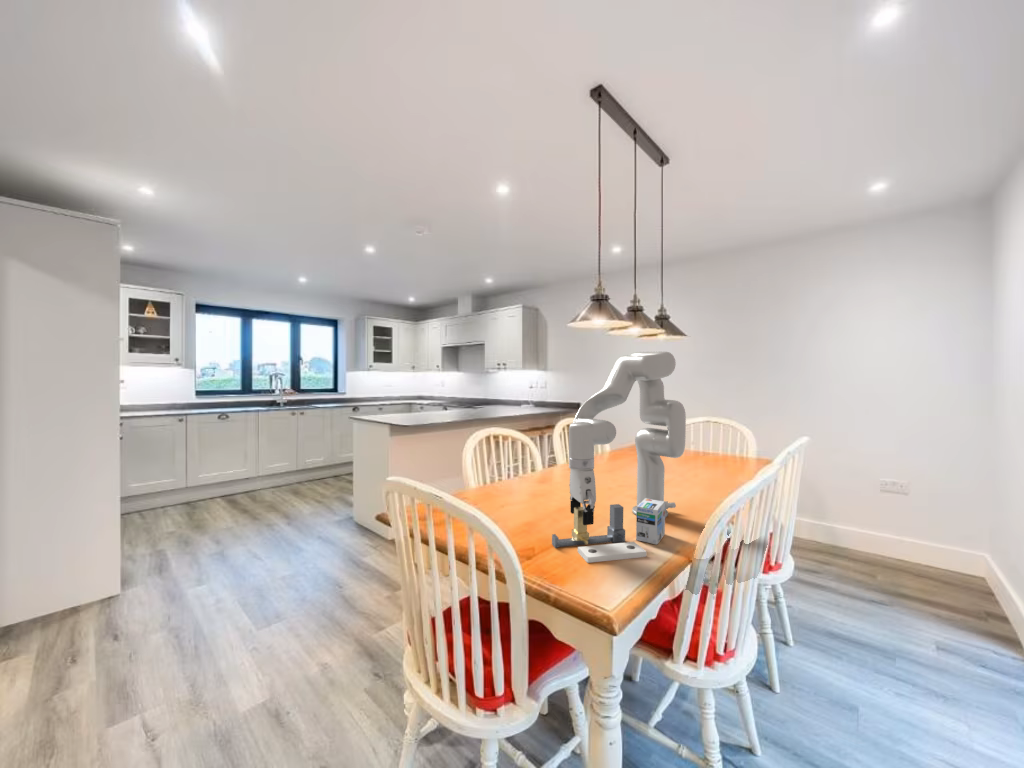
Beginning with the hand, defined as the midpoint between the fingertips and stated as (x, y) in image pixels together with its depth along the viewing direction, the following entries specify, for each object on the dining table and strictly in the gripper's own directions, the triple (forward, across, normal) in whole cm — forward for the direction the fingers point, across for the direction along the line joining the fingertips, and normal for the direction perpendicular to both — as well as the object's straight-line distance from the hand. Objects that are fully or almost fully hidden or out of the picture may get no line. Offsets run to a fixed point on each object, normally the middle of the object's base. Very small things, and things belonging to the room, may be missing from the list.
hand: (581, 518), depth 129 cm
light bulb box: (+8, 0, -23) cm, 25 cm away
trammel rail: (+8, -2, -2) cm, 8 cm away
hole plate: (+8, -9, -5) cm, 13 cm away
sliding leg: (+6, -2, +1) cm, 6 cm away
